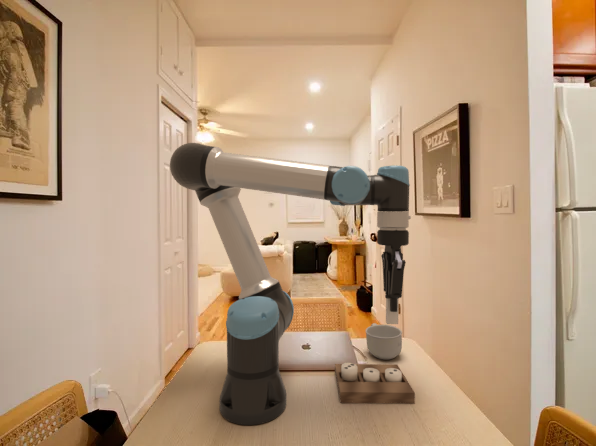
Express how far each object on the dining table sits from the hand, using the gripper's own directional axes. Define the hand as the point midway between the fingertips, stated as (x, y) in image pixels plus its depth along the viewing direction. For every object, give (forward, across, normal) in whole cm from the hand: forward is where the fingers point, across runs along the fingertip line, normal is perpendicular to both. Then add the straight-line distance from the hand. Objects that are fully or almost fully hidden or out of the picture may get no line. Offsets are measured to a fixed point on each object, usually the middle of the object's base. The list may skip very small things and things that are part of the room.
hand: (391, 323), depth 80 cm
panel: (+16, 0, +5) cm, 17 cm away
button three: (+14, 0, +11) cm, 17 cm away
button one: (+15, 0, +5) cm, 16 cm away
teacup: (+17, +20, -2) cm, 26 cm away
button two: (+15, 0, 0) cm, 15 cm away
